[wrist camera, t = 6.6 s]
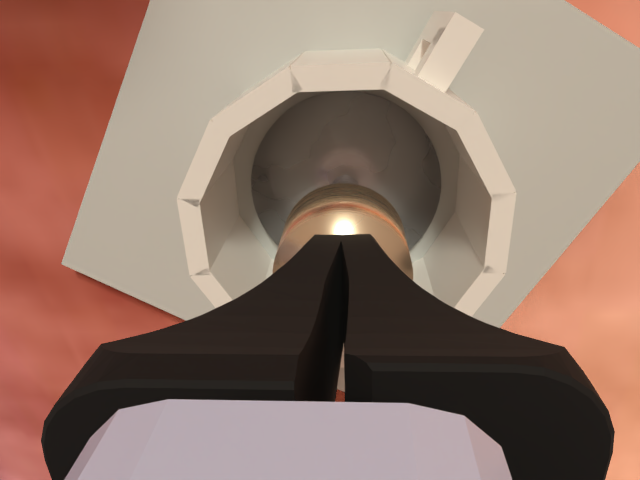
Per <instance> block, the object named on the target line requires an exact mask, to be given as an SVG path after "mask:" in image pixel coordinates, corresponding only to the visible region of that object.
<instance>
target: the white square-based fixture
mask: <svg viewBox="0 0 640 480" xmlns="http://www.w3.org/2000/svg"><path fill="white" fill-rule="evenodd" d="M348 90H357V91H362V92H368V93H372V94H375V95H378V96H381V97H384V98H386V99H388V100H390V101H392V102H394V103H396V104H397V105H399V106H400V107H402V108H403V109H405V110H406V111H407V112H408V113H409V114H410V115H412V116H413V117H414V118H415V119H416V120H417V122H418V123H419V124H420V125H421V126H422V128H423V129H424V131H425V132H426V134H427V135H428V137H429V139H430V140H431V142H432V144H433V147H434V149H435V151H436V154H437V157H438V161H439V165H440V171H441V193H440V200H439V203H438V207H437V211H436V213H435V215H434V218H433V220H432V222H431V224H430V226H429V227H428V229H427V231H426V232H425V233H424V235H423V236H422V237H421V239H420V240H419V241H418V242H417V243H416V244H415V245H414V246H413V247H412V248H411V249H410V250H409V253H410V257H411V261H412V267H413V281H414V282H415V283H416V284H417V285H419V286H420V287H421V288H423V289H424V290H426V291H427V292H429V293H430V294H432V295H433V296H435V297H436V298H438V299H439V300H441V301H442V302H444V303H446V304H448V305H449V306H451V307H453V308H455V309H457V310H459V311H461V312H463V313H465V314H467V315H469V316H471V317H473V318H475V319H478V320H480V321H482V322H485V323H487V324H490V325H493V326H495V327H498V328H500V327H501V326H502V325H503V323H504V322H505V321H506V320H507V319H508V317H509V316H510V315H511V314H512V313H513V311H514V310H515V309H516V308H517V307H518V306H519V304H520V303H521V302H522V301H523V300H524V298H525V297H526V296H527V295H528V294H529V292H530V291H531V290H532V289H533V288H534V286H535V285H536V284H537V283H538V282H539V281H540V279H541V278H542V277H543V276H544V275H545V273H546V272H547V271H548V270H549V269H550V267H551V266H552V265H553V264H554V263H555V262H556V260H557V259H558V258H559V257H560V256H561V254H562V253H563V252H564V251H565V250H566V248H567V247H568V246H569V245H570V244H571V243H572V241H573V240H574V239H575V238H576V237H577V235H578V234H579V233H580V232H581V231H582V229H583V228H584V227H585V226H586V225H587V224H588V222H589V221H590V220H591V219H592V218H593V216H594V215H595V214H596V213H597V212H598V210H599V209H600V208H601V207H602V206H603V204H604V203H605V202H606V201H607V200H608V199H609V197H610V196H611V195H612V194H613V193H614V191H615V190H616V189H617V188H618V187H619V185H620V184H621V183H622V182H623V181H624V180H625V178H626V177H627V176H628V175H629V174H630V172H631V171H632V170H633V169H634V168H635V166H636V165H637V164H638V163H639V162H640V48H638V47H637V46H635V45H634V44H632V43H631V42H629V41H627V40H626V39H624V38H623V37H621V36H620V35H618V34H616V33H615V32H613V31H612V30H610V29H609V28H607V27H605V26H604V25H602V24H601V23H599V22H598V21H596V20H594V19H593V18H591V17H590V16H588V15H587V14H585V13H583V12H582V11H580V10H579V9H577V8H576V7H574V6H572V5H571V4H569V3H568V2H566V1H565V0H150V2H149V5H148V8H147V11H146V14H145V17H144V20H143V23H142V26H141V29H140V32H139V35H138V38H137V41H136V44H135V47H134V50H133V53H132V56H131V59H130V62H129V65H128V68H127V71H126V74H125V77H124V80H123V82H122V85H121V88H120V91H119V94H118V97H117V100H116V103H115V106H114V109H113V112H112V115H111V118H110V121H109V124H108V127H107V130H106V133H105V136H104V139H103V142H102V145H101V148H100V151H99V154H98V157H97V160H96V163H95V165H94V168H93V171H92V174H91V177H90V180H89V183H88V186H87V189H86V192H85V195H84V198H83V201H82V204H81V207H80V210H79V213H78V216H77V219H76V222H75V225H74V228H73V231H72V234H71V237H70V240H69V243H68V246H67V248H66V251H65V254H64V257H63V260H62V263H61V264H62V265H64V266H67V267H69V268H71V269H73V270H75V271H78V272H80V273H82V274H84V275H87V276H89V277H91V278H93V279H95V280H98V281H100V282H102V283H104V284H106V285H109V286H111V287H113V288H115V289H117V290H120V291H122V292H124V293H126V294H128V295H131V296H133V297H135V298H137V299H139V300H142V301H144V302H146V303H148V304H151V305H153V306H155V307H157V308H159V309H162V310H164V311H166V312H168V313H170V314H173V315H175V316H177V317H179V318H181V319H184V320H186V321H187V320H190V319H192V318H195V317H198V316H200V315H203V314H205V313H207V312H209V311H211V310H213V309H215V308H217V307H220V306H222V305H224V304H226V303H228V302H230V301H232V300H234V299H236V298H238V297H239V296H241V295H243V294H244V293H246V292H248V291H249V290H251V289H253V288H254V287H256V286H257V285H259V284H260V283H262V282H263V281H264V280H266V279H267V278H268V277H269V276H271V275H272V274H273V263H274V260H275V256H276V253H277V249H278V245H277V244H276V243H275V242H274V241H273V240H272V238H271V237H270V236H269V235H268V234H267V232H266V230H265V229H264V227H263V226H262V224H261V222H260V220H259V218H258V215H257V213H256V210H255V207H254V203H253V198H252V192H251V175H252V167H253V163H254V158H255V155H256V153H257V150H258V148H259V145H260V143H261V141H262V140H263V138H264V136H265V134H266V133H267V131H268V130H269V129H270V128H271V126H272V125H273V124H274V122H275V121H276V120H277V119H278V118H279V117H280V116H281V115H282V114H283V113H284V112H286V111H287V110H288V109H290V108H291V107H292V106H294V105H296V104H297V103H299V102H301V101H303V100H305V99H307V98H309V97H312V96H315V95H317V94H321V93H325V92H330V91H348ZM337 389H338V390H340V391H343V392H345V379H344V344H343V351H342V358H341V365H340V372H339V378H338V385H337Z"/></svg>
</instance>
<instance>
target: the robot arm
mask: <svg viewBox="0 0 640 480" xmlns="http://www.w3.org/2000/svg"><path fill="white" fill-rule="evenodd" d="M343 344H344V379H345V402H335V398H336V392H337V385H338V378H339V372H340V365H341V358H342V351H343ZM613 442H614V428H613V425H612V421H611V418H610V415H609V411H608V409H607V408H606V406H605V405H604V403H603V401H602V400H601V398H600V397H599V395H598V393H597V392H596V390H595V388H594V387H593V385H592V384H591V382H590V381H589V379H588V378H587V376H586V375H585V373H584V372H583V370H582V369H581V368H580V367H579V365H578V364H577V363H576V361H575V360H574V359H573V358H572V356H571V355H570V354H569V352H568V351H567V350H566V348H565V347H562V346H558V345H555V344H551V343H547V342H544V341H540V340H536V339H532V338H529V337H525V336H521V335H518V334H515V333H512V332H509V331H506V330H503V329H501V328H498V327H495V326H493V325H490V324H487V323H485V322H482V321H480V320H478V319H475V318H473V317H471V316H469V315H467V314H465V313H463V312H461V311H459V310H457V309H455V308H453V307H451V306H449V305H448V304H446V303H444V302H442V301H441V300H439V299H438V298H436V297H435V296H433V295H432V294H430V293H429V292H427V291H426V290H424V289H423V288H421V287H420V286H419V285H417V284H416V283H415V282H414V281H413V280H411V279H410V278H409V277H408V276H407V275H406V274H405V273H403V272H402V271H401V270H400V269H399V267H398V266H397V265H396V264H395V263H394V262H393V261H392V260H391V259H390V258H389V257H388V255H387V254H386V253H385V252H384V250H383V249H382V248H381V247H380V245H379V244H378V243H377V241H376V240H375V238H374V237H373V236H372V235H371V234H335V235H319V234H315V235H314V236H313V237H312V238H311V239H310V240H309V241H308V242H307V243H306V244H305V245H304V246H303V247H302V248H301V249H300V250H299V251H298V252H297V253H296V254H295V255H294V256H293V257H292V258H291V259H290V260H289V261H288V262H287V263H285V264H284V265H283V266H282V267H281V268H279V269H278V270H277V271H276V272H274V273H273V274H272V275H271V276H269V277H268V278H267V279H266V280H264V281H263V282H262V283H260V284H259V285H257V286H256V287H254V288H253V289H251V290H249V291H248V292H246V293H244V294H243V295H241V296H239V297H238V298H236V299H234V300H232V301H230V302H228V303H226V304H224V305H222V306H220V307H217V308H215V309H213V310H211V311H209V312H207V313H205V314H203V315H200V316H198V317H195V318H192V319H190V320H187V321H185V322H182V323H179V324H176V325H173V326H170V327H167V328H164V329H160V330H157V331H154V332H150V333H146V334H142V335H138V336H134V337H130V338H126V339H121V340H117V341H113V342H108V343H104V344H101V345H100V346H99V347H98V349H97V350H96V351H95V352H94V354H93V355H92V356H91V357H90V359H89V360H88V361H87V362H86V364H85V365H84V366H83V368H82V369H81V370H80V372H79V373H78V374H77V376H76V377H75V378H74V380H73V381H72V382H71V384H70V385H69V386H68V388H67V389H66V390H65V392H64V393H63V394H62V396H61V397H60V398H59V400H58V401H57V402H56V404H55V405H54V407H53V408H52V410H51V412H50V413H49V415H48V416H47V418H46V420H45V421H44V427H43V433H42V438H41V443H42V448H43V453H44V458H45V462H46V465H47V467H48V470H49V473H50V475H51V478H52V480H605V478H606V474H607V471H608V467H609V464H610V460H611V456H612V453H613Z"/></svg>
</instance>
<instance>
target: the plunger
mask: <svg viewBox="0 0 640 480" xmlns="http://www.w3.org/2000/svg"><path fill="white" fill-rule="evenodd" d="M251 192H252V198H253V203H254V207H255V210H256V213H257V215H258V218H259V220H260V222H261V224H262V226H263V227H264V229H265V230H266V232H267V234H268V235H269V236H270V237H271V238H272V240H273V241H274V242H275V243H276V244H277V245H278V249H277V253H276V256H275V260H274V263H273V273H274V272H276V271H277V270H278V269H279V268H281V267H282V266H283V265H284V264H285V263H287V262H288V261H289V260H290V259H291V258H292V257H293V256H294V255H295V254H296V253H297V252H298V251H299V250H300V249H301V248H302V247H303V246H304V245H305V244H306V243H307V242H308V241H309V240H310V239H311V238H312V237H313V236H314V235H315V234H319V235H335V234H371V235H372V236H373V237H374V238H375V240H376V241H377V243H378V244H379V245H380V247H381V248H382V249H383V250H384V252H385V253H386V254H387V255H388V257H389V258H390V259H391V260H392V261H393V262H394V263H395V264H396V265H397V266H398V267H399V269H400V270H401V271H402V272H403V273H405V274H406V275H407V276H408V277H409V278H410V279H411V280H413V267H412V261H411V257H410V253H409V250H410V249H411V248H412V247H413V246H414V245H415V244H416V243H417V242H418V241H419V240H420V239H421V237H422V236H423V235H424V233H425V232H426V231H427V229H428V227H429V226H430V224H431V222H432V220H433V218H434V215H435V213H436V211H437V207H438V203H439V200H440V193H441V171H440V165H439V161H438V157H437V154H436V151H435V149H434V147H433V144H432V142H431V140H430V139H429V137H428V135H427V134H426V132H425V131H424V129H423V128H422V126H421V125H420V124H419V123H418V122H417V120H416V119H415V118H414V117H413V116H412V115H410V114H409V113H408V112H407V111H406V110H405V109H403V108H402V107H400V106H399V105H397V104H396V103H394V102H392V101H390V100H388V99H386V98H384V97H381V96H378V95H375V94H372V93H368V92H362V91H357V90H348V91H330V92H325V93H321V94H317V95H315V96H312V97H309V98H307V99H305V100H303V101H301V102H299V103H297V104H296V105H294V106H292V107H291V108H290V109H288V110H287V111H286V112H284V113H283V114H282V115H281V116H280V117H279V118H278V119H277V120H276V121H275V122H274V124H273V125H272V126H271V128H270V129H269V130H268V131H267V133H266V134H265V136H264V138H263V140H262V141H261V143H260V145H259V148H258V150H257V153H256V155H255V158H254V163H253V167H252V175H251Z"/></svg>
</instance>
